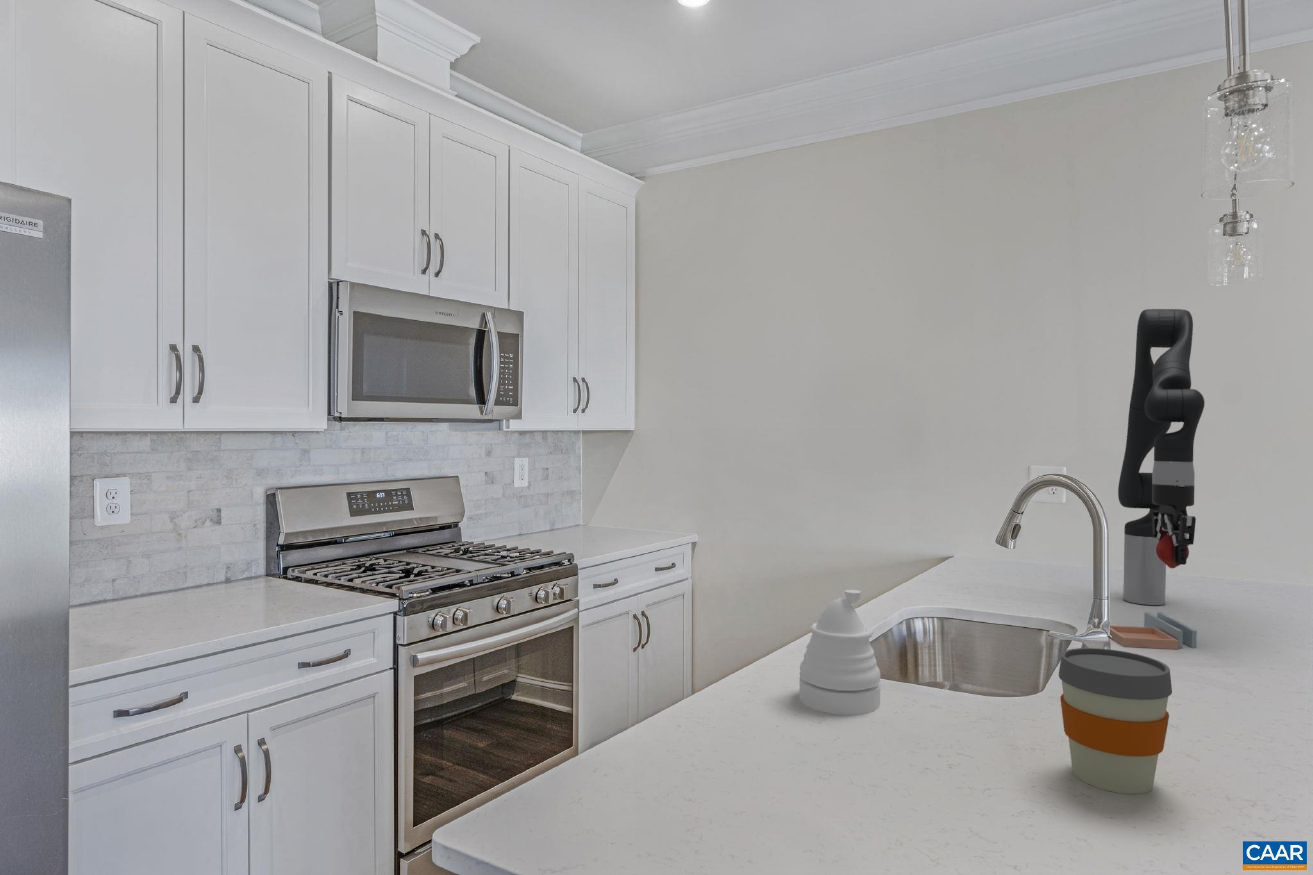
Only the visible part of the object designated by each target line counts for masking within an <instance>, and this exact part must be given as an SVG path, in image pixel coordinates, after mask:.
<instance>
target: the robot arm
mask: <svg viewBox="0 0 1313 875" xmlns="http://www.w3.org/2000/svg"><path fill="white" fill-rule="evenodd" d="M1136 327H1137V328H1136V342H1135V358H1134V359H1135V362H1134V373H1133V374H1134V376H1133V383H1132V390H1131V396H1130V402H1129V409H1128V410H1129V411H1128V417H1127V418H1128V419H1127V433H1126V442H1125V449H1124V456H1123V461H1122V466H1121V469H1120V470H1121V471H1120V476H1119V480H1118V489H1117V497H1118V502H1119V503H1120V505H1121V506H1122V507H1124V508H1129V509H1148V510H1149V511H1148V513H1147V514H1146V515H1144V516H1142V517H1140V518H1137V519H1134V520H1130V521H1127V522H1126V523H1125V524H1124V531H1123V532H1124V539H1123V540H1124V544H1123V551H1124V552H1123V584H1122V586H1123V587H1122V588H1123V590H1122V592H1123V593H1122V596H1123V597H1122V599H1123V600H1124V601H1125V602H1129V603H1132V604H1139V605H1147V606H1163V605H1166V587H1167V586H1166V584H1167V580H1166V579H1167V565H1166V564H1165V563H1164V562H1162V561H1161V560H1160V558H1159V557H1158V555H1157V554H1156V547H1157V544H1158V542H1159V541H1160V540H1161V539H1162V538H1164V537H1165V536H1167V535H1168V534H1169V535H1170V536H1172V539H1173V543H1174V546H1173V562H1174V564H1178V565H1179V566H1181V565H1182V566H1183V565H1186V564H1187V560H1186V554H1187V547H1188V548H1189V547H1190V546H1192V545H1194V542H1195V534H1196V533H1195V530H1196V520H1197V519H1196V516H1192V515H1188V512H1187V507H1193V506H1194V505H1195V477H1196V476H1195V466H1194V444H1195V436H1196V432H1197V428H1198V425H1199V422H1200V419H1201V417H1202V416H1203V412H1204V408H1205V398H1204V396H1203V394H1202V393H1201V391H1199V390H1197V389H1194V388H1192V377H1191V370H1190V368H1191V367H1190V360H1191V354H1192V346H1193V334H1194V332H1193V331H1194V321H1193V316H1192V314H1191V312H1190V311H1189V310H1186V309H1180V308H1174V309H1173V308H1148V309H1144V310H1142V311H1141V312H1140V314H1139V317H1138V320H1137V326H1136ZM1152 348H1155V349H1156V348H1162V349H1163V348H1164V349H1167V350H1166V351H1165V352H1163V353H1162V354H1161V355H1160V356H1159V357H1158V358H1157V359H1156V361H1155V362H1154V361H1153V358H1152V354H1151V352H1152V350H1151V349H1152ZM1172 423H1183V424H1182V427H1181V428H1180V429H1179V430H1176V431H1171V432H1168V431H1169V430H1170V428H1171V425H1172ZM1152 449H1153V466H1152V472H1140V470H1141V467H1142V465H1143V463H1144V460H1145V459H1146V457H1147V455H1148V454H1149V453H1150V452H1151V451H1152ZM1168 532H1169V533H1168ZM1177 536H1178V537H1177Z"/></svg>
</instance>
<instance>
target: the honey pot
mask: <svg viewBox="0 0 1313 875" xmlns="http://www.w3.org/2000/svg"><path fill="white" fill-rule="evenodd" d="M844 595H845V598H843V597H842V598H841V597H840V598H835V599H833V600H831V601H830V603H828V604H827V605H826V607H825V608H824V610H823V611H822V613H821V614H820V617H819V619H818V621H817V622H814V623H812V625H810V632H811V633H812V634H811V636H810V639H809V642H808V643H807V644H806V647H805V648H806V651H805V653H804V654H803V660H802V661H801V662H800V665H799V691H798V692H799V694H798V695H799V700H800V702H801V703H802V704H803V705H804V706H806V707H807V708H810V709H812V710H815V711H819V712H823V713H827V714H832V715H841V716H842V715H843V716H857V715H859V716H860V715H864V714H869V713H874V712H875V711H876V710H878V709H880V706H881V670H880V668H879V667H878V665H877V659H876V657H875V651H874V650H875V649H874V648H873V647H872V646H871V643H870V638H872V637H873V635H874V630H873V629H872V628H871V627H869V626H868V625H865V624H864V623H863V622H862V620H861V618H860V616H859V614H858V612H857V610H856V609H855V607H854V606H853V604H856V603H858V602H859V600H860V598H861V595H862V591H861V590H858V589H846V590H845V589H844Z"/></svg>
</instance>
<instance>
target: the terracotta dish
mask: <svg viewBox="0 0 1313 875" xmlns="http://www.w3.org/2000/svg"><path fill="white" fill-rule="evenodd" d="M1110 635H1111V636H1112V639H1111V640H1113V641H1115V642H1116V643H1117V644H1119V645H1120V646H1121V647H1125V648H1146V649H1161V650H1162V649H1163V650H1179V648H1178V640H1176V639H1175V638H1173V637H1171V636H1169V635H1167V634H1166V633H1164V632H1162V631H1160V630H1159V629H1157V628H1150V627H1144V626H1127V625H1126V626H1125V625H1110Z"/></svg>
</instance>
